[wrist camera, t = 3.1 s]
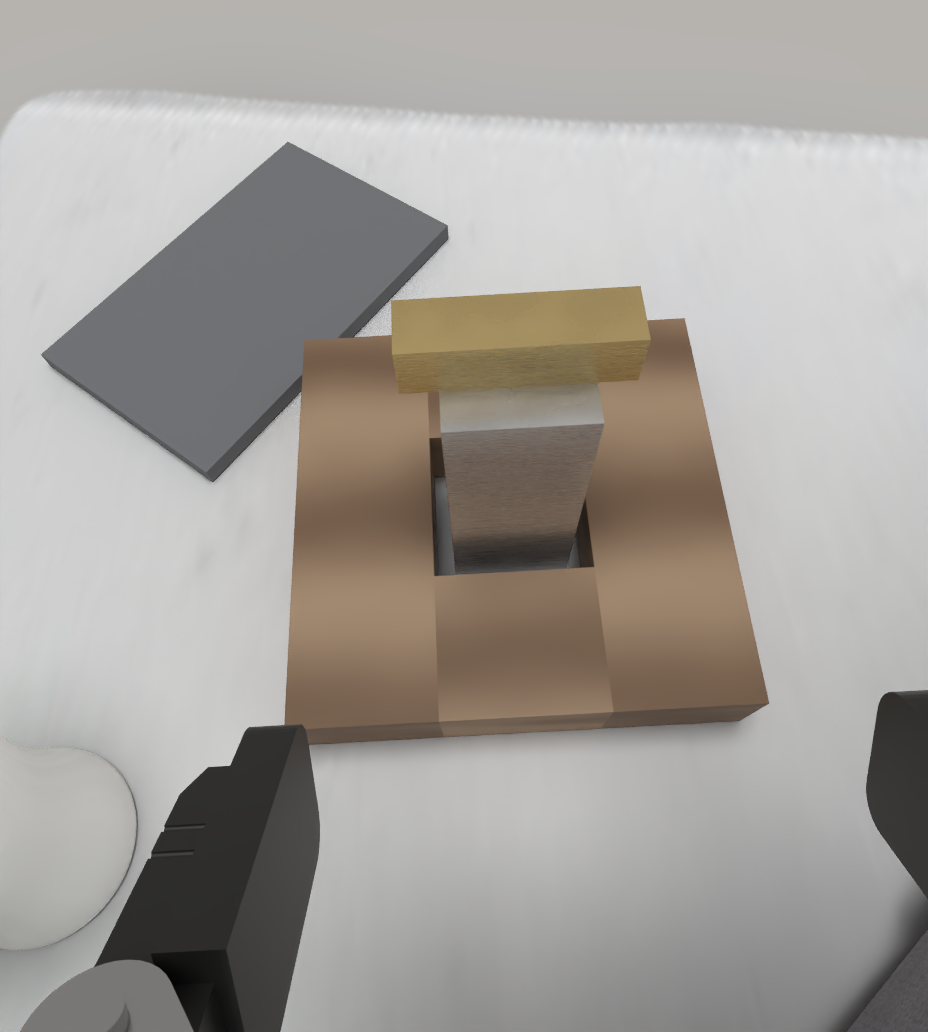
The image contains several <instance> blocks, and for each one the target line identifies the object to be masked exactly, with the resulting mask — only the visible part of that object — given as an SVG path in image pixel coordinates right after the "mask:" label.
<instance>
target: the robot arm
mask: <svg viewBox="0 0 928 1032" xmlns="http://www.w3.org/2000/svg"><path fill="white" fill-rule="evenodd" d="M866 793H867V801H868V806H869V810H870V813H871V816H872V819H873V821H874V823H875V825H876V827H877V829H878V831H879V832H880V834H881V835H882V837H883V838H884V839H885V841H886V842H887V843H888V845H889V846H890V848H891V849H892V850H893V852H894V853H895V854H896V856H897V857H898V858H899V860H900V861H901V863H902V864H903V865H904V867H905V868H906V869H907V871H908V872H909V874H910V875H911V876H912V878H913V879H914V880H915V882H916V883H917V885H918V886H919V887H920V889H921V890H922V891H923V893H924V894H925V896H926V897H927V898H928V690H921V691H904V692H888V693H886V694H885V695H884V696H883V697H882V698H881V700H880V702H879V706H878V711H877V717H876V724H875V730H874V737H873V743H872V750H871V756H870V763H869V769H868V776H867V783H866ZM319 842H320V821H319V811H318V804H317V798H316V791H315V784H314V778H313V771H312V765H311V758H310V751H309V745H308V738H307V734H306V730H305V728H304V726H303V725H302V724H298V725H281V726H263V727H249V728H247V730H246V731H245V733H244V735H243V737H242V740H241V742H240V744H239V747H238V749H237V751H236V754H235V756H234V758H233V761H232V763H231V766H222V767H208V768H207V769H206V770H205V771H204V772H203V773H202V774H201V775H200V776H199V777H198V778H196V779H195V780H194V781H193V782H192V783H191V784H190V785H189V786H188V787H187V788H186V789H185V790H184V791H183V792H182V793H181V794H180V795H179V797H178V799H177V801H176V803H175V805H174V807H173V809H172V811H171V813H170V815H169V817H168V819H167V821H166V823H165V829H164V832H161V834H160V836H159V838H158V840H157V842H156V844H155V846H154V848H153V850H152V852H151V853H152V855H151V859H148V860H147V862H146V864H145V866H144V868H143V870H142V872H141V874H140V876H139V878H138V880H137V882H136V884H135V886H134V888H133V890H132V892H131V894H130V896H129V898H128V900H127V902H126V904H125V906H124V908H123V910H122V912H121V915H120V917H119V919H118V921H117V923H116V925H115V927H114V929H113V931H112V933H111V935H110V937H109V939H108V941H107V943H106V945H105V947H104V949H103V951H102V953H101V955H100V957H99V959H98V961H97V963H96V965H95V966H94V967H93V968H91V969H89V970H87V971H85V972H83V973H81V974H78V975H77V976H75V977H74V978H72V979H70V980H69V981H67V982H66V983H64V984H63V985H62V986H60V987H59V988H58V989H56V990H55V991H54V992H52V993H51V994H50V995H49V996H48V997H47V998H46V999H45V1000H44V1001H43V1002H42V1003H41V1004H40V1005H39V1006H38V1007H37V1009H36V1010H35V1011H34V1012H33V1013H32V1014H31V1016H30V1017H29V1019H28V1020H27V1022H26V1023H25V1024H24V1026H23V1027H22V1029H21V1031H20V1032H280V1031H281V1026H282V1022H283V1017H284V1013H285V1008H286V1003H287V999H288V994H289V990H290V985H291V980H292V976H293V971H294V967H295V962H296V957H297V953H298V948H299V944H300V939H301V935H302V930H303V925H304V921H305V916H306V912H307V907H308V902H309V898H310V893H311V889H312V884H313V879H314V875H315V870H316V866H317V860H318V854H319Z"/></svg>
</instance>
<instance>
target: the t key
mask: <svg viewBox="0 0 928 1032" xmlns="http://www.w3.org/2000/svg"><path fill="white" fill-rule="evenodd" d="M391 309H392V357H393V363H394V368H395V374H396V379H397V384H398V390H399V394H409V393H426V392H439V402H440V426H441V439H442V449H443V458H444V467H445V477H446V486H447V495H448V505H449V514H450V524H451V533H452V542H453V552H454V561H455V570H456V575H462V574H480V573H498V572H515V571H533V570H551V569H566V568H567V564H568V560H569V556H570V552H571V549H572V545H573V541H574V537H575V533H576V530H577V526H578V522H579V518H580V515H581V511H582V507H583V503H584V499H585V496H586V492H587V488H588V484H589V480H590V477H591V473H592V469H593V465H594V461H595V458H596V454H597V450H598V446H599V442H600V439H601V435H602V431H603V427H604V417H603V410H602V404H601V397H600V390H599V384H598V383H601V382H618V381H635V380H638V379H639V376H640V373H641V370H642V366H643V363H644V360H645V357H646V354H647V350H648V347H649V344H650V341H651V338H650V333H649V328H648V323H647V317H646V312H645V307H644V302H643V297H642V292H641V286H635V287H618V288H601V289H583V290H566V291H549V292H532V293H514V294H497V295H480V296H463V297H445V298H428V299H411V300H393V301H391Z"/></svg>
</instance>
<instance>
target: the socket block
mask: <svg viewBox="0 0 928 1032" xmlns="http://www.w3.org/2000/svg"><path fill="white" fill-rule="evenodd" d="M647 323H648V328H649V333H650V338H651V341H650V344H649V347H648V350H647V354H646V357H645V360H644V363H643V366H642V370H641V373H640V376H639V379H638V380H635V381H618V382H601V383H598V384H599V390H600V397H601V404H602V410H603V417H604V427H603V431H602V435H601V439H600V442H599V446H598V450H597V454H596V458H595V461H594V465H593V469H592V473H591V477H590V480H589V484H588V488H587V492H586V496H585V499H584V503H583V507H582V511H581V515H580V518H579V522H578V526H577V530H576V535H577V543H578V551H579V559H580V567H581V568H569V569H551V570H533V571H515V572H498V573H480V574H462V575H444V576H438V558H437V530H436V503H435V477H437V476H445V467H444V458H443V449H442V439H441V426H440V402H439V392H426V393H409V394H399V390H398V384H397V379H396V374H395V368H394V363H393V357H392V335H389V336H371V337H354V338H337V339H320V340H304V354H303V374H302V393H301V412H300V432H299V451H298V471H297V490H296V510H295V529H294V549H293V568H292V588H291V607H290V627H289V646H288V666H287V685H286V705H285V724H284V725H298V724H302V725H303V726H304V728H305V730H306V734H307V738H308V745H309V744H327V743H345V742H364V741H382V740H400V739H418V738H436V737H454V736H472V735H490V734H508V733H526V732H544V731H562V730H581V729H599V728H617V727H635V726H653V725H671V724H689V723H707V722H725V721H740V720H742V719H743V718H745V717H747V716H748V715H750V714H752V713H754V712H755V711H757V710H759V709H760V708H762V707H764V706H766V705H767V704H769V701H768V696H767V692H766V687H765V682H764V678H763V673H762V669H761V664H760V660H759V655H758V651H757V646H756V641H755V637H754V632H753V628H752V623H751V619H750V614H749V610H748V605H747V601H746V596H745V591H744V587H743V582H742V578H741V573H740V569H739V564H738V560H737V555H736V550H735V546H734V541H733V537H732V532H731V528H730V523H729V519H728V514H727V510H726V505H725V500H724V496H723V491H722V487H721V482H720V478H719V473H718V469H717V464H716V459H715V455H714V450H713V446H712V441H711V437H710V432H709V428H708V423H707V419H706V414H705V409H704V405H703V400H702V396H701V391H700V387H699V382H698V378H697V373H696V368H695V364H694V359H693V355H692V350H691V346H690V341H689V337H688V332H687V328H686V323H685V318H683V319H665V320H648V321H647Z"/></svg>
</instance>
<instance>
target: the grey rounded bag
mask: <svg viewBox="0 0 928 1032" xmlns="http://www.w3.org/2000/svg"><path fill="white" fill-rule="evenodd" d="M847 1032H928V930H927V931H926V932H925V933H924V934H923V936H922V937H921V938H920V939H919V941H918V942H917V943H916V944H915V946H914V947H913V948H912V949H911V951H910V952H909V953H908V954H907V956H906V957H905V958H904V960H903V961H902V962H901V963H900V965H899V966H898V967H897V968H896V970H895V971H894V972H893V973H892V975H891V976H890V977H889V979H888V980H887V981H886V982H885V984H884V985H883V986H882V987H881V989H880V990H879V991H878V992H877V994H876V995H875V996H874V997H873V999H872V1000H871V1001H870V1003H869V1004H868V1005H867V1006H866V1008H865V1009H864V1010H863V1011H862V1013H861V1014H860V1015H859V1016H858V1018H857V1019H856V1020H855V1022H854V1023H853V1024H852V1025H851V1027H850V1028H849V1029H848V1030H847Z"/></svg>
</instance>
